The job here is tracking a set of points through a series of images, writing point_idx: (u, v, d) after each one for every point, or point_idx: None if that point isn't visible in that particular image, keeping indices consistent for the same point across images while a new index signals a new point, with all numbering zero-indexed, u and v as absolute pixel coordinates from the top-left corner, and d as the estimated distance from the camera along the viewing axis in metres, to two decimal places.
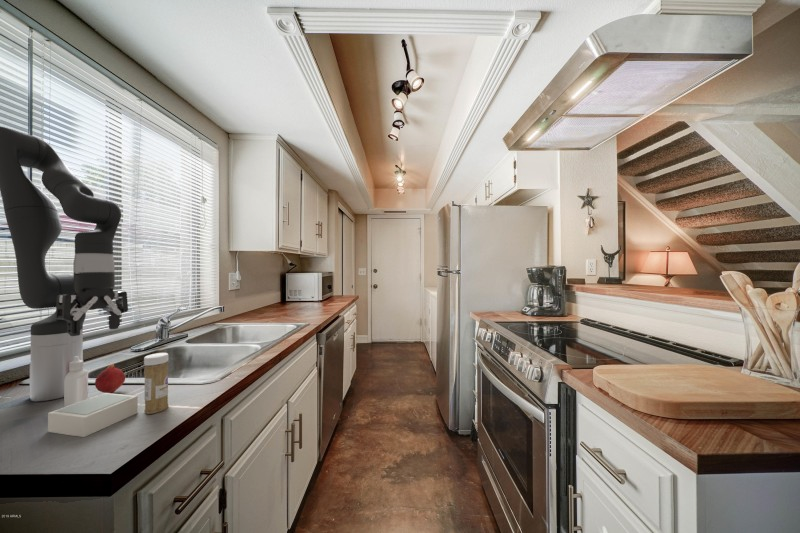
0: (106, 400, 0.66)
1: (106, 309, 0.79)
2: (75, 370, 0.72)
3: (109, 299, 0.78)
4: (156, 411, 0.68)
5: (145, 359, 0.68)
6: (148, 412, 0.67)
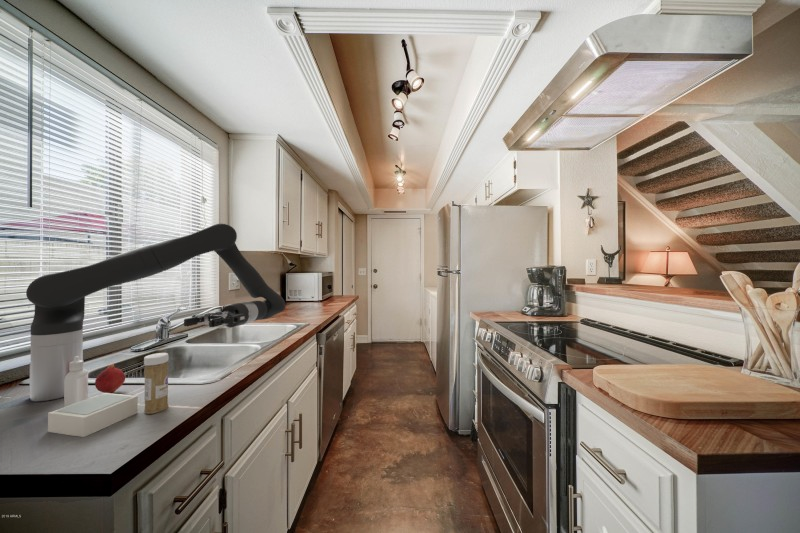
0: (106, 400, 0.66)
1: (205, 317, 0.87)
2: (75, 370, 0.72)
3: None
4: (156, 411, 0.68)
5: (145, 359, 0.68)
6: (148, 412, 0.67)
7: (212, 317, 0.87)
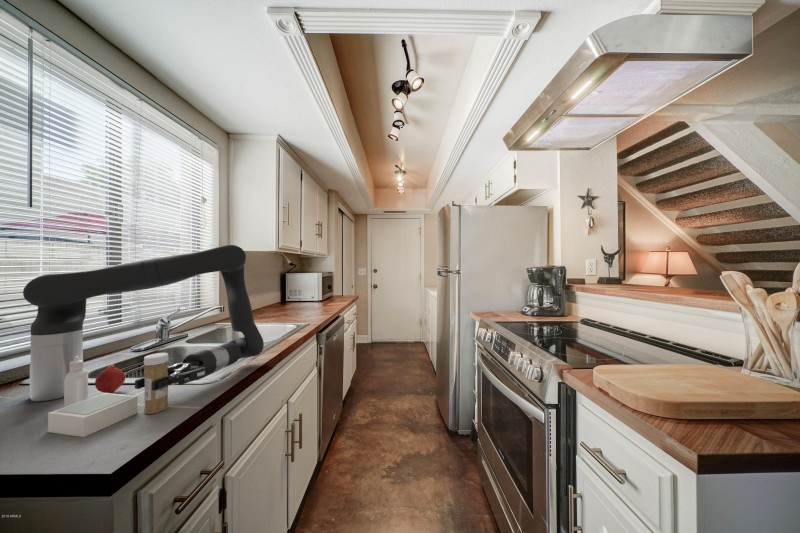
0: (106, 400, 0.66)
1: None
2: (75, 370, 0.72)
3: None
4: (156, 411, 0.68)
5: (145, 359, 0.68)
6: (148, 412, 0.67)
7: (174, 372, 0.74)
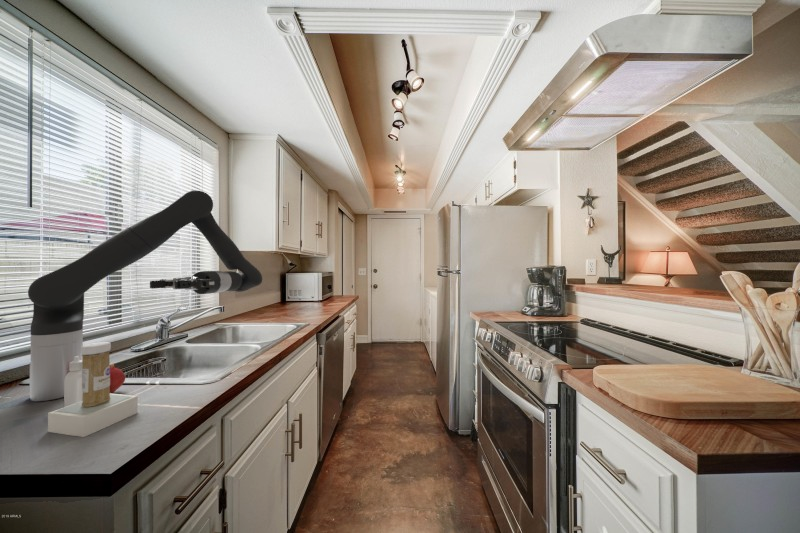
0: None
1: (174, 281, 0.85)
2: (75, 370, 0.72)
3: None
4: (94, 404, 0.63)
5: (82, 348, 0.62)
6: (85, 405, 0.62)
7: None
